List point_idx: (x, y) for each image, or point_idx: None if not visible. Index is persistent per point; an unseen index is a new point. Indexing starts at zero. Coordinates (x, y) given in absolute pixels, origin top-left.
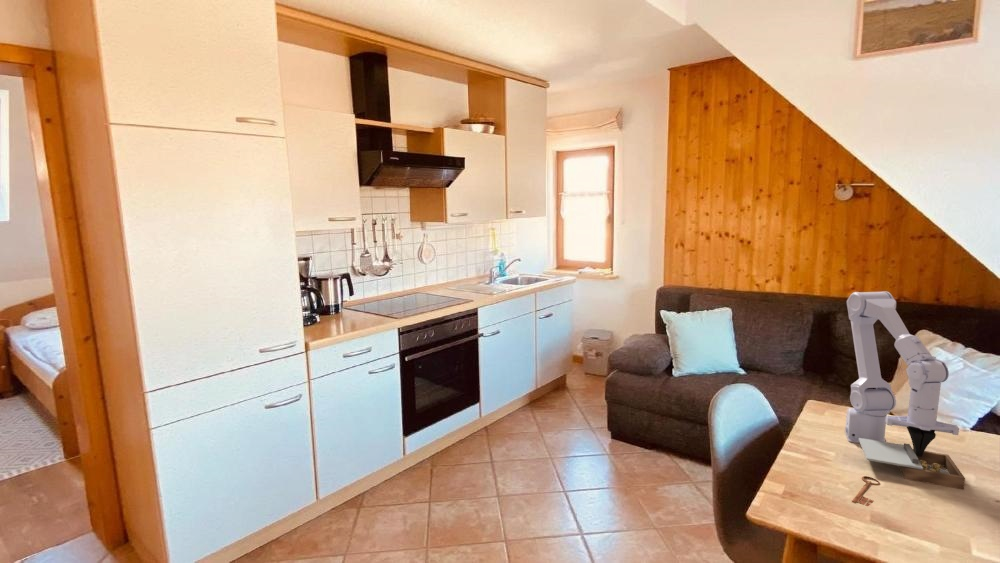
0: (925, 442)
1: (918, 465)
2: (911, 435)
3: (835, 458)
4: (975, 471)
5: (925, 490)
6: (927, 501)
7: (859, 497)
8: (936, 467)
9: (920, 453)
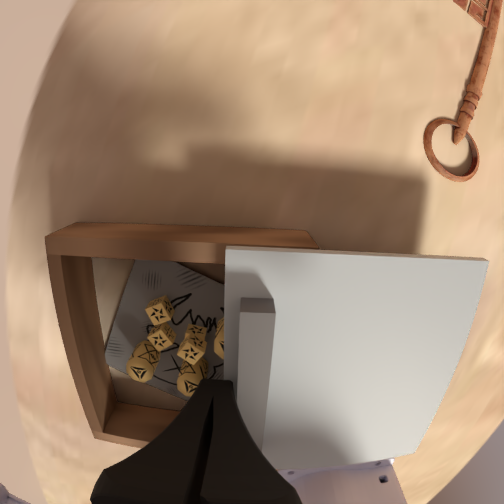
0: (176, 446)
1: (245, 273)
2: (287, 485)
3: (495, 315)
4: (42, 383)
5: (238, 135)
6: (262, 28)
7: (489, 16)
8: (142, 355)
9: (209, 389)
